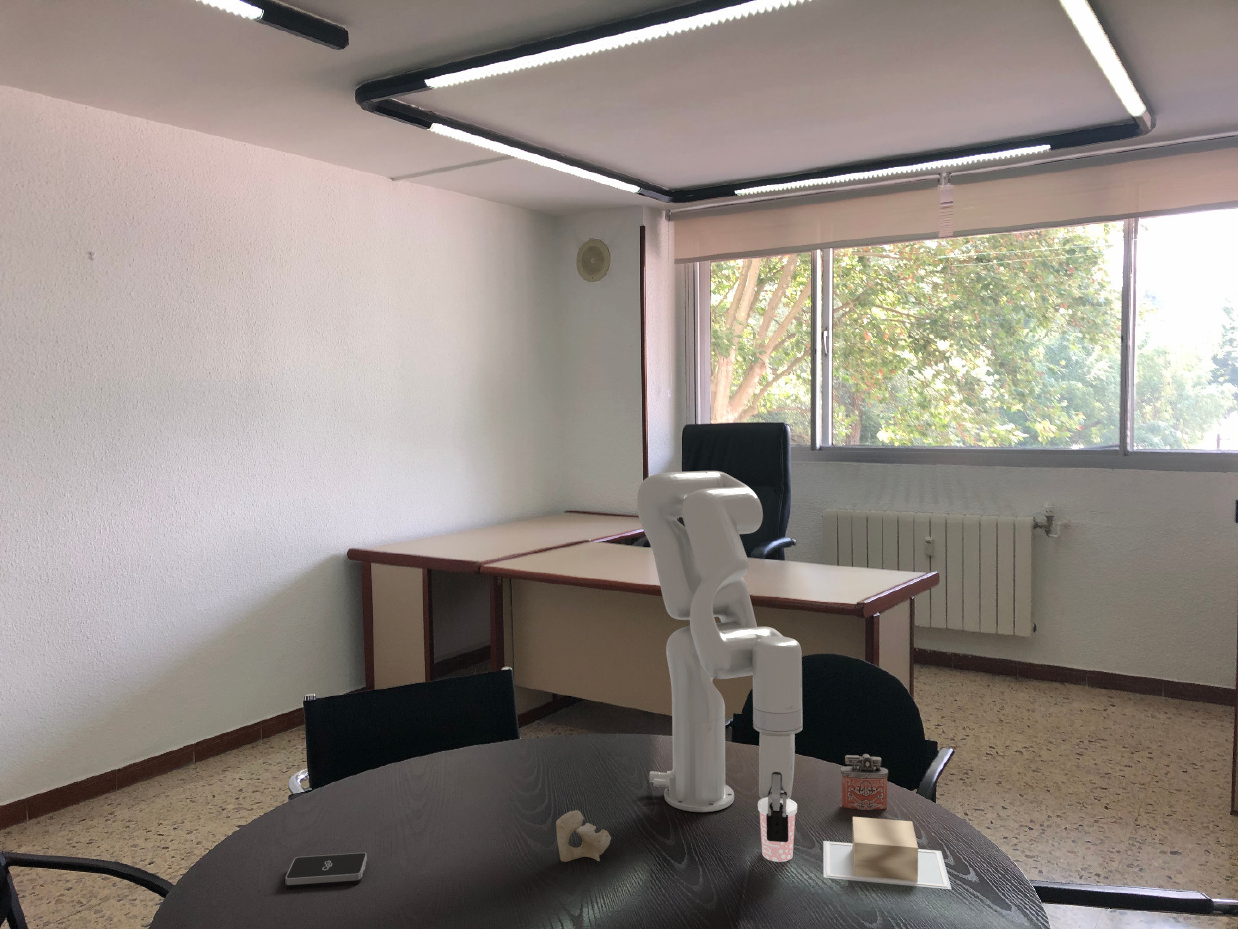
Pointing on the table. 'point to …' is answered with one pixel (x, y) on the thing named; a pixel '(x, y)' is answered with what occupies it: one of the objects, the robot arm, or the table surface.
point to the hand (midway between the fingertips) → (779, 827)
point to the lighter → (864, 783)
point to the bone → (591, 841)
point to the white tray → (842, 867)
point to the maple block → (885, 849)
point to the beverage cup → (777, 849)
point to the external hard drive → (326, 870)
